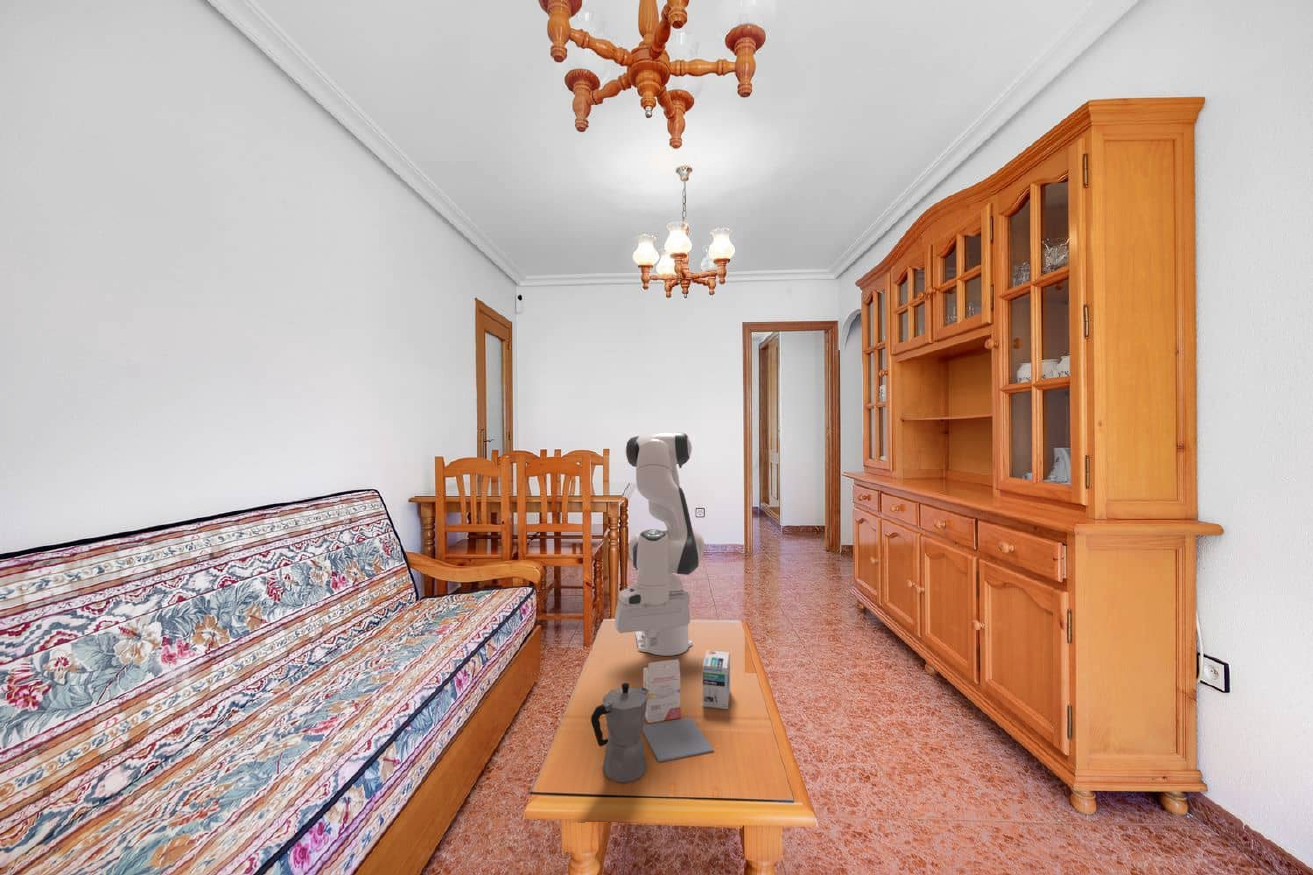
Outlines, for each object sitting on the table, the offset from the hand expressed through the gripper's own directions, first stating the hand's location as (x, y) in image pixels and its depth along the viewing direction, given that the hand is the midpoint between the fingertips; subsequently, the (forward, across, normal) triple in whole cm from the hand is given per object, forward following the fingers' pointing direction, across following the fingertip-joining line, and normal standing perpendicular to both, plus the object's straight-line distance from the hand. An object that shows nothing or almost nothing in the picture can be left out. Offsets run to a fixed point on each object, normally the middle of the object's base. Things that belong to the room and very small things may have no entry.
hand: (652, 645), depth 136 cm
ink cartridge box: (+15, 0, +7) cm, 17 cm away
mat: (+15, 0, +17) cm, 23 cm away
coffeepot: (+16, +15, +25) cm, 33 cm away
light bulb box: (+15, -17, +3) cm, 23 cm away
